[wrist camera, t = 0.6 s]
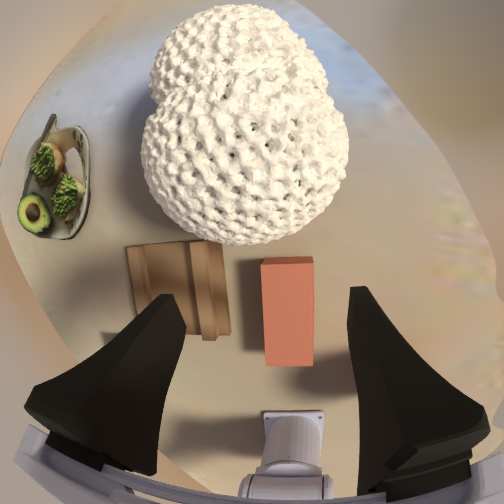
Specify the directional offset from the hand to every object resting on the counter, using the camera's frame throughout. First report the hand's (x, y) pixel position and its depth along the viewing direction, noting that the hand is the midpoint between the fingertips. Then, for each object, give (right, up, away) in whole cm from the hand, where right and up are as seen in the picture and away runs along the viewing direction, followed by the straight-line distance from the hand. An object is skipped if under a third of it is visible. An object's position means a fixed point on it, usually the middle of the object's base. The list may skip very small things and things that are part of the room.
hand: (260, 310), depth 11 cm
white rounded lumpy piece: (-1, +14, +18) cm, 23 cm away
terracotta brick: (+4, -4, +20) cm, 21 cm away
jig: (-9, -2, +22) cm, 24 cm away
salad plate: (-30, +12, +24) cm, 40 cm away
